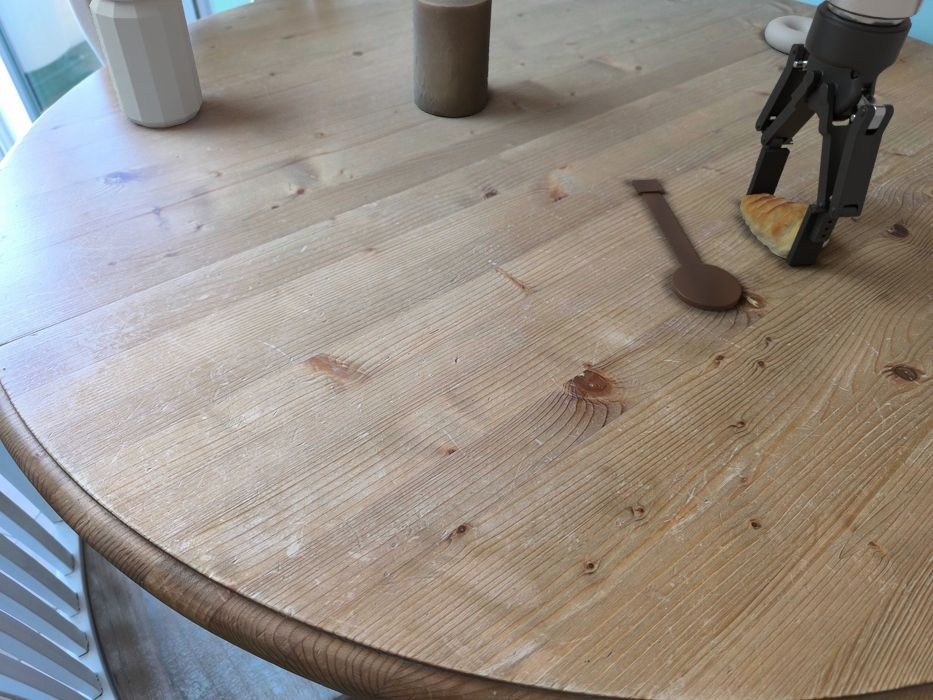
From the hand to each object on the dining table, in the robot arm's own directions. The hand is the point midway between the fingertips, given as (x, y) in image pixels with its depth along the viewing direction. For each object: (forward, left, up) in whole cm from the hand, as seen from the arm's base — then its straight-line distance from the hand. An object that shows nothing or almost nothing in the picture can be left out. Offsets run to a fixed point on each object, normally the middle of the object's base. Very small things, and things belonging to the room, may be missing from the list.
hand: (777, 231), depth 78 cm
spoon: (+11, 0, -1) cm, 11 cm away
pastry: (0, +1, 0) cm, 1 cm away
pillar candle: (+30, -34, -1) cm, 45 cm away
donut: (-26, -49, -1) cm, 56 cm away
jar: (+66, -33, -1) cm, 74 cm away
